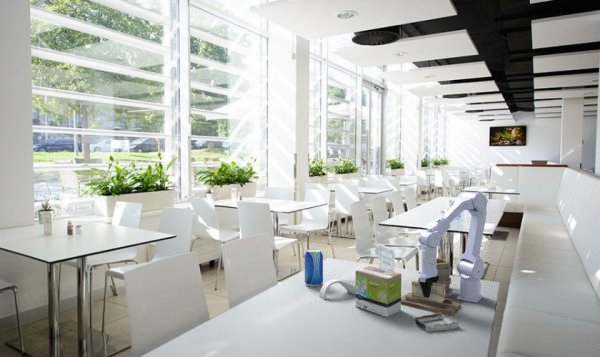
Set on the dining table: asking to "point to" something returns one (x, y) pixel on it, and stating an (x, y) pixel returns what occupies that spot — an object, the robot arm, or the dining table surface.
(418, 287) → the pale wooden bar
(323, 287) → the white curved piece
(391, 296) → the tea box
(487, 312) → the dining table surface
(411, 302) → the walnut ledge
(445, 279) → the tankard
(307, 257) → the beer can
